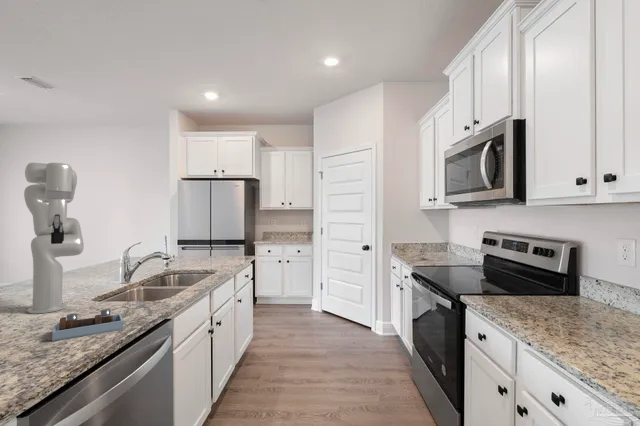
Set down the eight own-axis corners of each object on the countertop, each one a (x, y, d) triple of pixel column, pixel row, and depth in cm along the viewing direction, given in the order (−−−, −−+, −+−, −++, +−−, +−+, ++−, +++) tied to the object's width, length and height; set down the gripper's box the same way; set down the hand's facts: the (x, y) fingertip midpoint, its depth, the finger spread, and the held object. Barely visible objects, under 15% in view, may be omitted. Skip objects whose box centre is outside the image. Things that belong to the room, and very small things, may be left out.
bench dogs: (66, 327, 114) (67, 314, 114) (110, 320, 122) (110, 308, 122) (66, 329, 112) (66, 316, 112) (110, 322, 120) (110, 310, 120)
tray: (54, 332, 109) (54, 323, 109) (120, 321, 121) (120, 313, 121) (52, 341, 101) (52, 332, 101) (123, 329, 113) (123, 320, 113)
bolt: (112, 331, 114) (58, 338, 105) (112, 320, 118) (60, 327, 109) (113, 319, 112) (58, 325, 103) (113, 308, 116) (60, 314, 107)
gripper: (47, 196, 123) (46, 241, 123) (43, 195, 109) (41, 245, 109) (72, 197, 127) (71, 240, 127) (70, 196, 114) (69, 244, 114)
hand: (57, 242), depth 118 cm, fingers open, 9 cm apart
